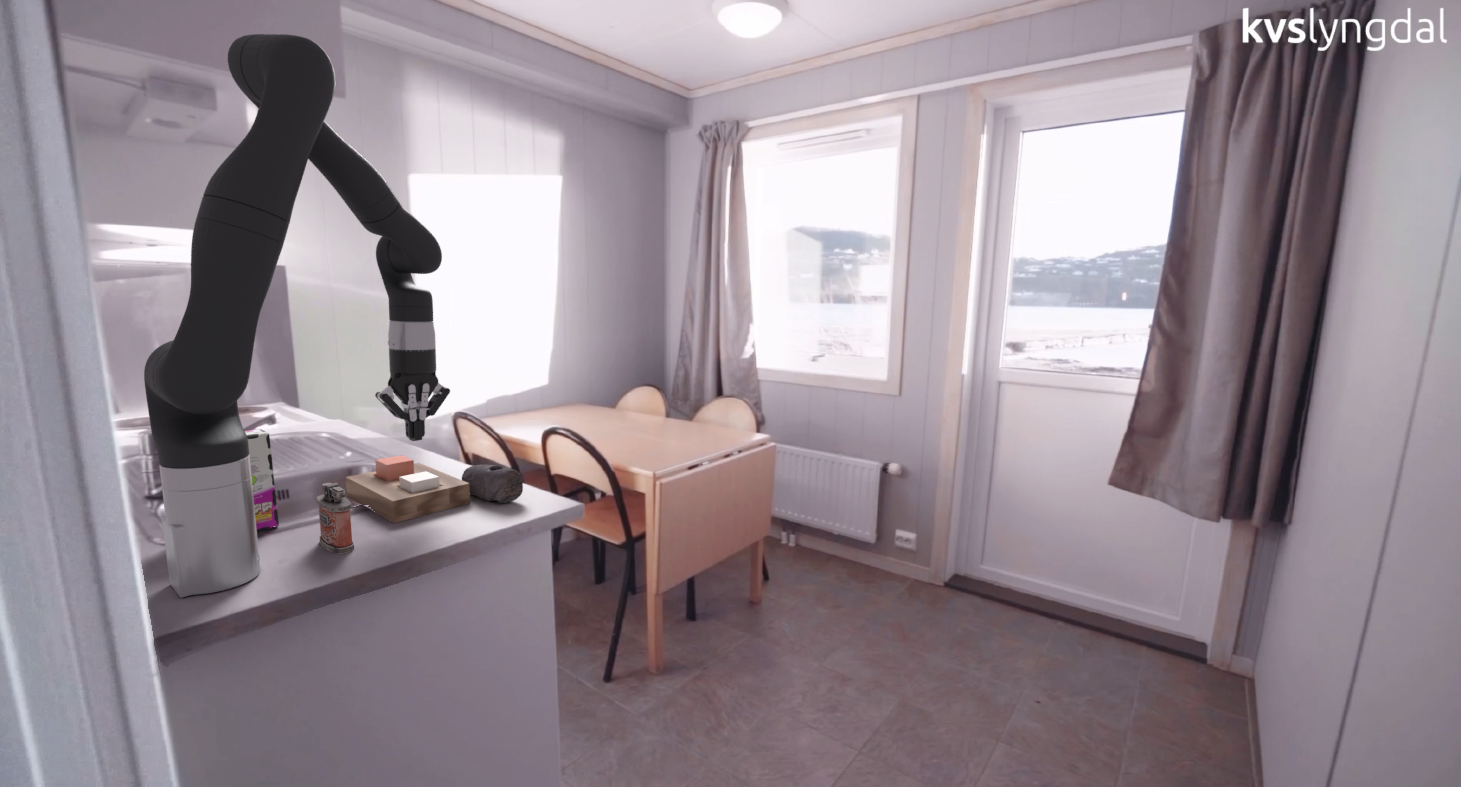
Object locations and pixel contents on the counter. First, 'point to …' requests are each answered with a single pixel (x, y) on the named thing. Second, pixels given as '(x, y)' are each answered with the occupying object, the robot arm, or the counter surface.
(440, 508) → the frame
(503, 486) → the perforated stone tool
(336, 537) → the lighter
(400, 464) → the salmon pink block
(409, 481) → the key white
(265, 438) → the candy bar box
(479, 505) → the counter surface
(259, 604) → the counter surface
